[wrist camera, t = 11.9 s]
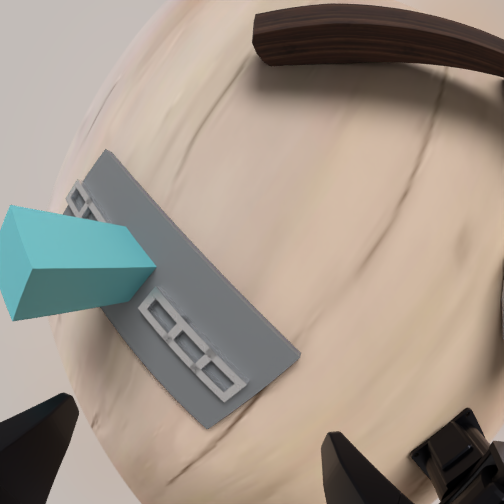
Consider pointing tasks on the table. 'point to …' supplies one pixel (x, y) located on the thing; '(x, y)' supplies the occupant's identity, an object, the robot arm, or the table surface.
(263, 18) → the hammer
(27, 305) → the teal block
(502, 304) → the padlock
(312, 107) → the table surface
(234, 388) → the steel chain
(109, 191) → the rubber mat
